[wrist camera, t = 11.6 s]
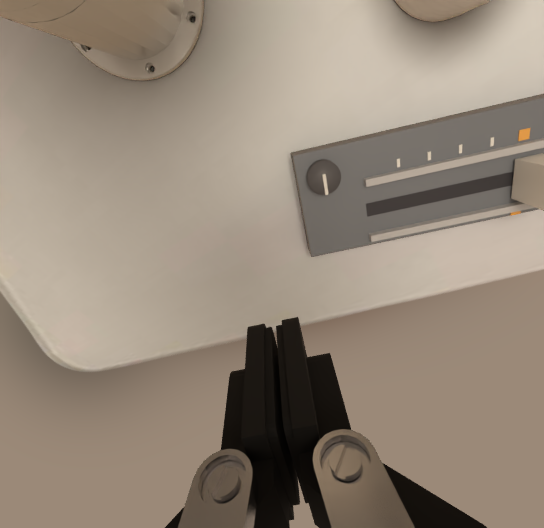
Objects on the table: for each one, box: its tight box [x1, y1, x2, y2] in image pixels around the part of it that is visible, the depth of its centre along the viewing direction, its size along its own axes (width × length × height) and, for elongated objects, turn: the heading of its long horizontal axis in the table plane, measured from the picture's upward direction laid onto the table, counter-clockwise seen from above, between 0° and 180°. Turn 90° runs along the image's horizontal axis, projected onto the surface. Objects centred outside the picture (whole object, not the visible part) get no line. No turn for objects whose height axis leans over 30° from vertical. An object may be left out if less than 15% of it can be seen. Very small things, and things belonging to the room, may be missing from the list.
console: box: [291, 94, 544, 257], centre depth 34 cm, size 11×32×4 cm, turn 102°
